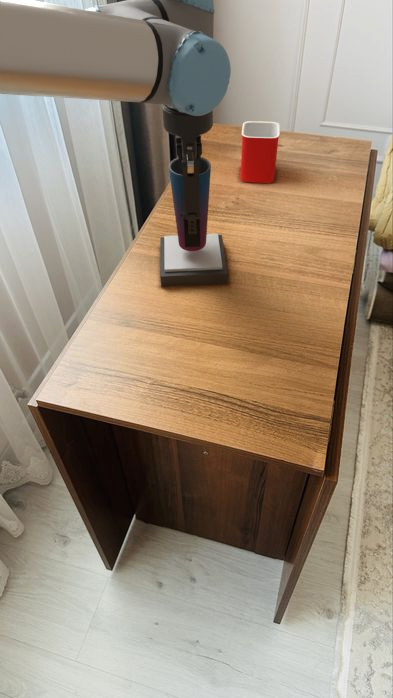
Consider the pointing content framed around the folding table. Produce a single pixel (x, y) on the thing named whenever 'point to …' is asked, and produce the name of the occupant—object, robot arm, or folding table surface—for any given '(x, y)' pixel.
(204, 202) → the cup
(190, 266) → the scale
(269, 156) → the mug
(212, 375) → the folding table surface
